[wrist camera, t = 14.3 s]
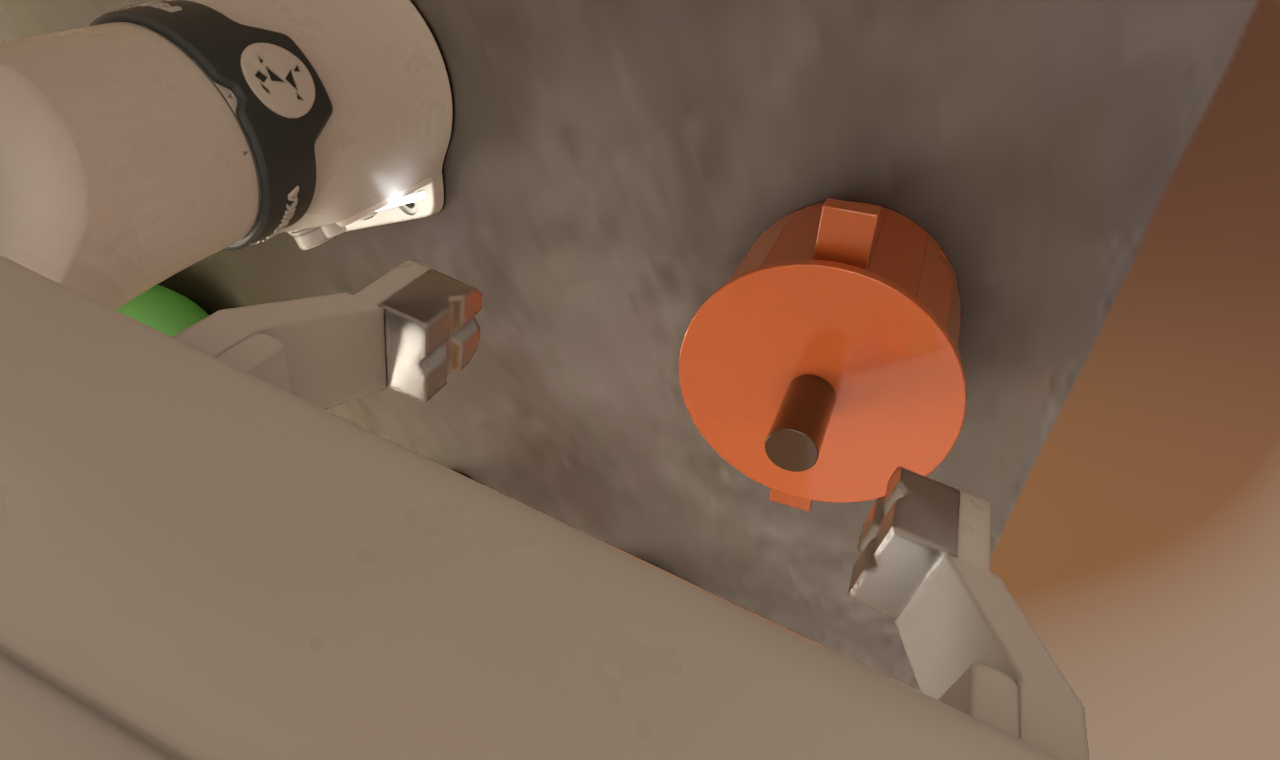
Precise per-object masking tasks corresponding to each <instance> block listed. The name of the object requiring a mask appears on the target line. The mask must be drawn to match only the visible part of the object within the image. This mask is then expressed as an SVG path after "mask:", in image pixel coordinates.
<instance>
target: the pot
mask: <svg viewBox="0 0 1280 760" xmlns="http://www.w3.org/2000/svg"><path fill="white" fill-rule="evenodd" d="M799 259H801V260H825V261H833V262H840V263H844V264H848V265H852V266H856V267H860V268H862V269H865V270H868V271H870V272H873V273H875V274H878V275H881V276H882V277H884V278H886V279H888V280H890V281H892V282H894V283H896V284H897V285H899V286H901V287H902V288H904V289H905V290H906V291H908V292H909V293H911V294H912V295H914V296H915V297H916V298H917V299H919V300H920V301H921V302H922V303H923V304H924V305H925V306H926V307H927V308H928V309H929V310H931V311H932V313H933V314H934V315H935V316H936V317H937V319H938V320H939V321H940V322H941V323H942V325H943V326H944V327H945V329H946V330H947V332H948V334H949V335H950V337H951V338H952V340H953V342H954V344H955V346H956V348H957V351H958V342H959V332H960V321H961V308H960V300H959V288H958V284H957V280H956V276H955V273H954V270H953V268H952V266H951V263H950V261H949V260H948V258H947V256H946V255H945V253H944V251H943V250H942V248H941V247H940V246H939V245H938V244H937V242H936V241H935V240H934V239H933V238H932V237H931V236H930V235H929V234H928V233H927V232H926V231H925V230H924V229H923V228H921V227H920V226H919V225H917V224H916V223H914V222H913V221H911V220H910V219H908V218H907V217H905V216H903V215H901V214H899V213H897V212H895V211H892V210H890V209H887V208H884V207H881V206H878V205H873V204H869V203H864V202H855V201H842V200H836V199H830V198H827V199H826V201H825V202H824V203H818V204H815V205H811V206H807V207H804V208H802V209H799V210H797V211H794V212H792V213H790V214H788V215H787V216H785V217H783V218H781V219H780V220H778V221H777V222H776V223H774V224H773V225H772V226H771V227H769V228H768V229H767V230H766V231H765V232H763V233H762V234H761V235H759V237H758V238H757V240H756V241H755V243H754V244H753V246H752V247H751V249H750V250H749V252H748V253H747V255H746V256H745V258H744V259H743V261H742V262H741V264H740V265H739V267H738V268H737V270H736V271H735V273H734V274H733V276H732V277H731V279H733V278H735V277H736V276H738V275H740V274H742V273H744V272H746V271H749V270H752V269H754V268H757V267H759V266H763V265H767V264H771V263H775V262H780V261H790V260H799ZM731 279H730V280H731ZM769 500H772V501H775V502H778V503H782V504H785V505H788V506H792V507H795V508H798V509H802V510H805V511H810V508H811V505H812V502H813V500H808V499H804V498H800V497H796V496H792V495H788V494H785V493H783V492H780V491H777V490H774V489H772V488H771V489H770V495H769Z"/></svg>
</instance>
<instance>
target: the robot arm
mask: <svg viewBox="0 0 1280 760" xmlns="http://www.w3.org/2000/svg"><path fill="white" fill-rule="evenodd" d="M452 118H453V108H452V96H451V89H450V83H449V79H448V75H447V71H446V68H445V64H444V61H443V58H442V56H441V53H440V51H439V48H438V46H437V44H436V41H435V39H434V37H433V35H432V33H431V31H430V29H429V28H428V26H427V24H426V23H425V21H424V19H423V18H422V16H421V15H420V13H419V12H418V10H417V9H416V8H415V6H414V5H413V4H412V2H411V1H410V0H167V1H165V2H145V3H139V4H134V5H130V6H126V7H124V8H122V9H120V10H118V11H114V12H110V13H107V14H104V15H102V16H100V17H99V18H97V19H95V20H94V21H93V22H92V23H91V24H90V26H88V27H82V28H77V29H71V30H65V31H60V32H54V33H49V34H43V35H37V36H31V37H25V38H20V39H14V40H8V41H2V42H0V760H1089V751H1088V741H1087V730H1086V720H1085V710H1084V706H1083V705H1082V703H1081V702H1080V700H1079V698H1078V697H1077V695H1076V694H1075V692H1074V691H1073V689H1072V688H1071V686H1070V685H1069V683H1068V682H1067V680H1066V679H1065V677H1064V675H1063V674H1062V673H1061V671H1060V669H1059V668H1058V666H1057V665H1056V663H1055V662H1054V660H1053V659H1052V657H1051V655H1050V654H1049V653H1048V651H1047V649H1046V648H1045V646H1044V645H1043V643H1042V642H1041V640H1040V639H1039V637H1038V636H1037V634H1036V633H1035V631H1034V629H1033V628H1032V627H1031V625H1030V623H1029V622H1028V620H1027V619H1026V617H1025V616H1024V615H1023V613H1022V611H1021V610H1020V608H1019V607H1018V605H1017V603H1016V602H1015V600H1014V599H1013V597H1012V596H1011V594H1010V593H1009V591H1008V590H1007V588H1006V587H1005V585H1004V584H1003V582H1002V581H1001V579H1000V577H999V576H997V575H995V574H993V573H990V520H991V505H990V503H989V502H988V500H985V499H983V498H980V497H978V496H975V495H972V494H970V493H967V492H965V491H962V490H960V489H955V488H952V487H950V486H947V485H945V484H943V483H940V482H938V481H935V480H933V479H930V478H928V477H926V476H923V475H921V474H918V473H916V472H913V471H911V470H909V469H906V468H904V467H901V466H899V467H898V468H897V469H896V470H895V471H894V473H893V474H892V476H891V477H890V479H889V481H888V484H887V489H886V494H885V496H883V497H880V498H878V499H877V500H876V502H875V504H874V505H873V507H872V509H871V511H870V513H869V515H868V517H867V519H866V521H865V524H864V526H863V529H862V532H861V536H860V539H859V544H858V549H859V551H860V553H861V556H860V557H859V559H858V560H857V562H856V564H855V565H854V567H853V572H852V577H851V582H850V586H849V591H848V597H850V598H852V599H854V600H856V601H858V602H860V603H862V604H864V605H866V606H869V607H871V608H873V609H875V610H877V611H879V612H881V613H883V614H885V615H887V616H889V617H891V618H893V619H895V620H896V621H895V624H896V627H897V629H898V632H899V634H900V637H901V640H902V642H903V645H904V648H905V650H906V653H907V656H908V658H909V661H910V664H911V666H912V669H913V672H914V674H915V677H916V680H917V682H918V685H919V687H920V690H921V692H920V691H918V690H916V689H914V688H911V687H909V686H907V685H905V684H903V683H901V682H899V681H897V680H895V679H892V678H890V677H888V676H886V675H884V674H882V673H880V672H878V671H876V670H873V669H871V668H869V667H867V666H865V665H863V664H861V663H859V662H857V661H855V660H852V659H850V658H848V657H846V656H844V655H842V654H840V653H838V652H835V651H833V650H831V649H829V648H827V647H825V646H823V645H821V644H818V643H816V642H814V641H812V640H810V639H808V638H806V637H803V636H801V635H799V634H797V633H795V632H793V631H791V630H789V629H786V628H784V627H782V626H780V625H778V624H776V623H774V622H772V621H770V620H767V619H765V618H763V617H761V616H759V615H757V614H755V613H753V612H751V611H749V610H746V609H744V608H742V607H740V606H738V605H736V604H734V603H732V602H730V601H728V600H725V599H723V598H721V597H719V596H717V595H715V594H713V593H711V592H709V591H707V590H704V589H702V588H700V587H698V586H696V585H694V584H692V583H690V582H688V581H685V580H683V579H681V578H679V577H677V576H675V575H673V574H671V573H669V572H667V571H664V570H662V569H660V568H658V567H656V566H654V565H652V564H650V563H648V562H646V561H643V560H641V559H639V558H637V557H635V556H633V555H631V554H629V553H627V552H625V551H622V550H620V549H618V548H616V547H614V546H612V545H610V544H608V543H605V542H603V541H601V540H599V539H597V538H595V537H593V536H591V535H589V534H586V533H584V532H582V531H580V530H578V529H576V528H574V527H572V526H570V525H567V524H565V523H563V522H561V521H559V520H557V519H555V518H553V517H550V516H548V515H546V514H544V513H542V512H540V511H538V510H536V509H534V508H531V507H529V506H527V505H525V504H523V503H521V502H519V501H517V500H514V499H512V498H510V497H508V496H506V495H504V494H502V493H500V492H498V491H495V490H493V489H491V488H489V487H487V486H485V485H483V484H481V483H478V482H476V481H474V480H472V479H470V478H468V477H466V476H464V475H462V474H459V473H457V472H455V471H453V470H451V469H449V468H447V467H445V466H443V465H440V464H438V463H436V462H434V461H432V460H430V459H428V458H426V457H424V456H422V455H419V454H417V453H415V452H413V451H411V450H409V449H407V448H405V447H403V446H400V445H398V444H396V443H394V442H392V441H390V440H388V439H386V438H384V437H381V436H379V435H377V434H375V433H373V432H371V431H369V430H367V429H365V428H362V427H360V426H358V425H356V424H354V423H352V422H350V421H348V420H346V419H344V418H341V417H339V416H337V415H335V414H333V413H331V412H329V411H327V410H325V409H328V408H331V407H334V406H337V405H340V404H343V403H346V402H349V401H352V400H355V399H358V398H361V397H364V396H367V395H370V394H373V393H375V392H378V391H381V390H384V389H386V388H387V387H389V388H391V389H394V390H396V391H398V392H401V393H403V394H405V395H408V396H410V397H413V398H415V399H417V400H420V401H422V402H424V403H426V402H427V401H428V400H429V399H431V398H432V397H433V396H434V395H435V394H436V393H437V392H438V391H439V390H440V389H441V388H443V387H444V386H445V385H446V384H447V374H451V373H455V372H459V371H461V370H462V369H463V368H464V367H465V366H466V365H467V364H468V363H469V362H470V360H471V358H472V357H473V355H474V353H475V351H476V349H477V346H478V342H479V338H480V327H479V325H478V323H477V321H476V319H475V317H474V315H475V314H477V313H478V312H479V311H480V310H481V309H482V294H481V293H480V292H479V290H478V289H476V288H474V287H471V286H469V285H467V284H465V283H462V282H460V281H458V280H456V279H453V278H451V277H449V276H447V275H444V274H442V273H440V272H438V271H435V270H432V269H430V268H428V267H426V266H423V265H421V264H419V263H416V262H414V261H405V262H404V263H402V264H400V265H399V266H397V267H396V268H394V269H393V270H391V271H390V272H388V273H387V274H385V275H384V276H382V277H380V278H379V279H377V280H376V281H374V282H373V283H371V284H370V285H368V286H367V287H365V288H364V289H362V290H360V291H359V292H357V293H356V294H354V295H352V294H349V293H347V292H346V293H338V294H331V295H324V296H317V297H309V298H302V299H295V300H288V301H280V302H273V303H266V304H259V305H252V306H244V307H237V308H230V309H223V310H218V311H217V312H215V313H213V314H211V315H209V316H208V317H206V318H204V319H202V320H201V321H199V322H197V323H195V324H193V325H192V326H190V327H188V328H186V329H185V330H183V331H181V332H179V333H177V334H176V335H174V336H172V337H171V336H169V335H166V334H164V333H162V332H160V331H158V330H156V329H154V328H152V327H150V326H148V325H145V324H143V323H141V322H139V321H137V320H135V319H133V318H131V317H129V316H126V315H124V314H122V313H120V312H118V311H116V310H117V309H118V308H120V307H121V306H123V305H124V304H126V303H127V302H129V301H131V300H132V299H134V298H136V297H137V296H139V295H141V294H142V293H144V292H145V291H147V290H149V289H150V288H152V287H154V286H155V285H157V284H159V283H161V282H162V281H164V280H166V279H168V278H169V277H171V276H173V275H175V274H176V273H178V272H180V271H182V270H184V269H185V268H187V267H189V266H191V265H193V264H195V263H197V262H198V261H200V260H202V259H204V258H206V257H208V256H210V255H212V254H214V253H216V252H218V251H220V250H235V249H241V248H243V247H246V246H249V245H253V244H257V243H260V242H263V241H265V240H267V239H269V238H272V237H274V236H275V235H277V234H279V233H280V232H287V233H289V234H290V235H292V236H293V237H294V239H295V241H296V242H297V244H298V246H299V248H301V249H302V250H307V249H311V248H313V247H316V246H319V245H321V244H323V243H325V242H327V241H329V240H330V239H332V237H334V236H337V235H339V234H342V233H344V232H347V231H352V230H358V229H363V228H368V227H374V226H379V225H385V224H390V223H396V222H401V221H407V220H412V219H417V218H423V217H428V216H430V215H433V214H435V213H438V212H439V211H440V210H441V209H442V207H443V203H444V187H443V177H442V166H443V161H444V157H445V154H446V151H447V148H448V144H449V141H450V136H451V130H452ZM413 202H414V203H413Z"/></svg>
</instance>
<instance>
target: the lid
mask: <svg viewBox="0 0 1280 760" xmlns="http://www.w3.org/2000/svg"><path fill="white" fill-rule="evenodd" d="M679 378H680V385H681V391H682V394H683V398H684V401H685V404H686V407H687V409H688V411H689V414H690V416H691V418H692V420H693V421H694V423H695V425H696V426H697V428H698V430H699V431H700V433H701V434H702V435H703V437H704V438H705V439H706V441H707V442H708V443H709V444H710V445H711V446H712V447H713V449H714V450H715V451H716V452H717V453H718V454H719V455H720V456H721V457H723V458H724V459H725V460H726V461H727V462H728V463H730V464H731V465H732V466H733V467H735V468H736V469H738V470H739V471H740V472H742V473H743V474H745V475H746V476H748V477H750V478H752V479H753V480H755V481H757V482H759V483H761V484H763V485H765V486H767V487H770V488H772V489H774V490H777V491H780V492H783V493H785V494H788V495H792V496H796V497H800V498H804V499H808V500H815V501H822V502H839V503H843V502H859V501H866V500H872V499H877V498H880V497H883V496H885V494H886V489H887V484H888V481H889V479H890V477H891V476H892V474H893V473H894V471H895V470H896V469H897V468H898V467H899V466H901V467H904V468H906V469H909V470H911V471H913V472H916V473H918V474H921V475H923V476H927V475H928V474H929V473H930V472H932V471H933V470H934V469H935V468H936V467H937V466H938V465H939V464H940V463H941V462H942V461H943V460H944V459H945V457H946V456H947V454H948V453H949V452H950V450H951V449H952V447H953V446H954V444H955V442H956V440H957V438H958V436H959V433H960V431H961V428H962V424H963V421H964V417H965V409H966V399H967V389H966V376H965V372H964V368H963V364H962V360H961V358H960V355H959V353H958V351H957V348H956V346H955V344H954V342H953V340H952V338H951V337H950V335H949V334H948V332H947V330H946V329H945V327H944V326H943V325H942V323H941V322H940V321H939V320H938V319H937V317H936V316H935V315H934V314H933V313H932V311H931V310H929V309H928V308H927V307H926V306H925V305H924V304H923V303H922V302H921V301H920V300H919V299H917V298H916V297H915V296H914V295H912V294H911V293H909V292H908V291H906V290H905V289H904V288H902V287H901V286H899V285H897V284H896V283H894V282H892V281H890V280H888V279H886V278H884V277H882V276H881V275H878V274H875V273H873V272H870V271H868V270H865V269H862V268H860V267H856V266H852V265H848V264H844V263H840V262H833V261H825V260H801V259H799V260H790V261H780V262H775V263H771V264H767V265H763V266H759V267H757V268H754V269H752V270H749V271H746V272H744V273H742V274H740V275H738V276H736V277H735V278H733V279H731V280H729V281H728V282H726V283H725V284H724V285H722V286H721V287H720V288H718V289H717V290H716V291H715V292H714V293H713V294H712V295H711V296H710V297H709V298H708V299H707V300H706V301H705V302H704V303H703V304H702V306H701V307H700V309H699V310H698V311H697V313H696V314H695V316H694V317H693V319H692V320H691V322H690V324H689V326H688V328H687V330H686V332H685V336H684V339H683V342H682V345H681V351H680V357H679Z"/></svg>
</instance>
